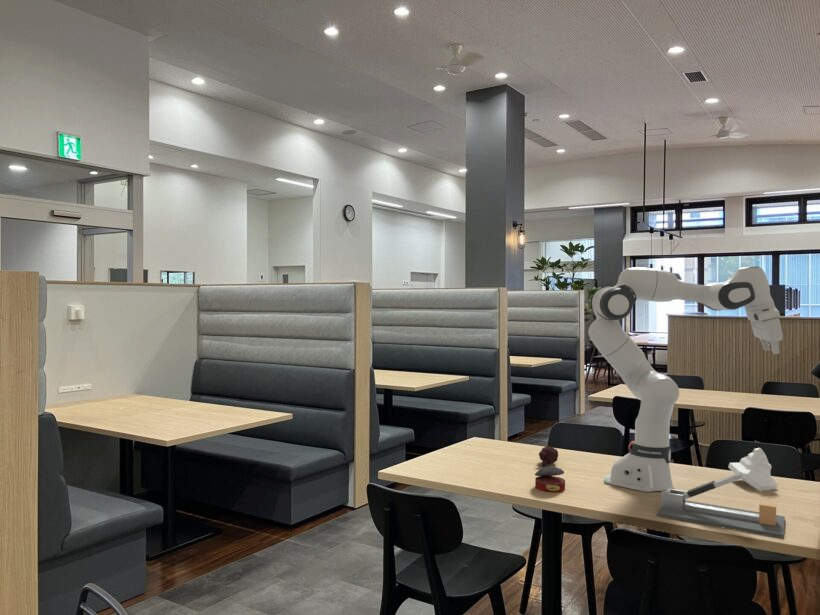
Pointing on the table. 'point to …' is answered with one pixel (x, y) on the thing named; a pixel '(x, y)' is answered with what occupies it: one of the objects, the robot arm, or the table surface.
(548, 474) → the canned food
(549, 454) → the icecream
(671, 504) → the grey long bar
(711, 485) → the tongs arm
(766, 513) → the light orange block
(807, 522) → the table surface
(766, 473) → the white angular chunk
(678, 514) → the mat
